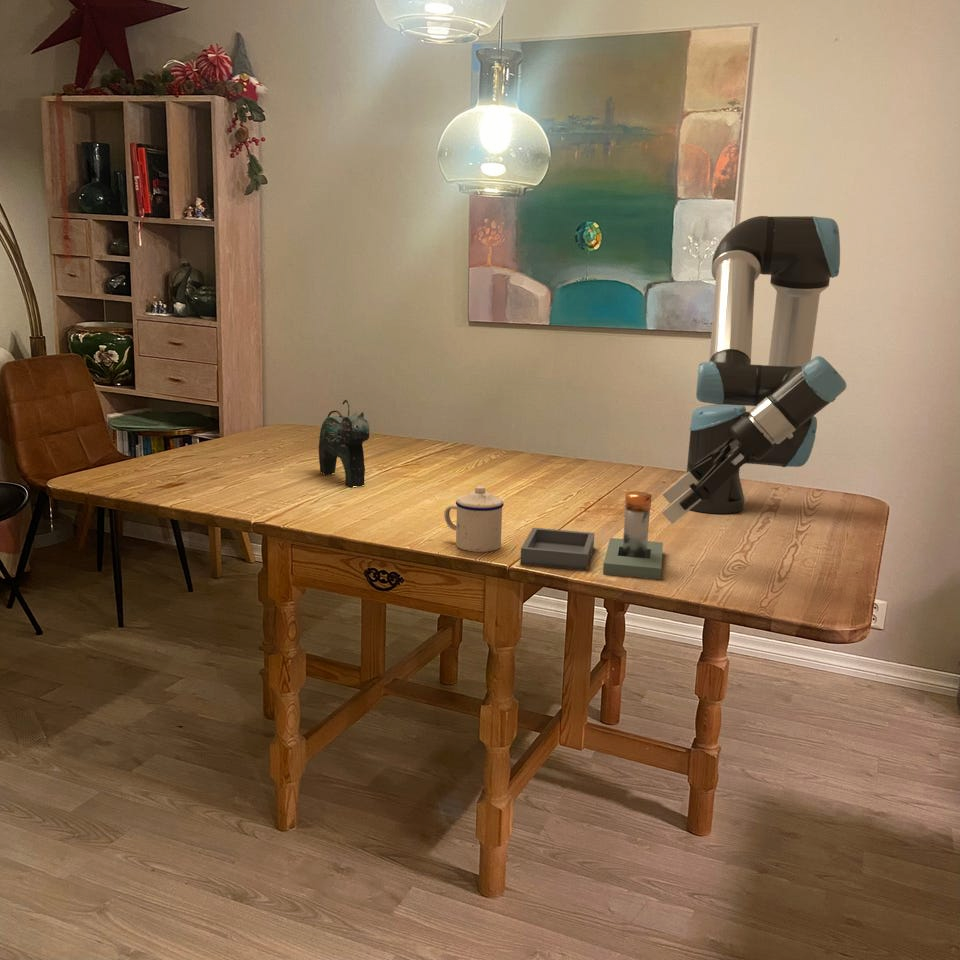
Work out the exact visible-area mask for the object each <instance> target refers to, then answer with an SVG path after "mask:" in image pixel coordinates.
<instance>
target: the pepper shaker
mask: <svg viewBox="0 0 960 960" xmlns="http://www.w3.org/2000/svg"><path fill="white" fill-rule="evenodd" d="M624 502H625V503H624V524H623V538H622V539H623V550H622V556H626V557H637V558H646V555H647V542H648V540H649V539H648V538H649V525H650V513H651V506H652V494H651V493H648V492H644V491H636V490H635V491H627V492H626V493H625V501H624Z"/></svg>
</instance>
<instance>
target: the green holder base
mask: <svg viewBox="0 0 960 960" xmlns="http://www.w3.org/2000/svg"><path fill="white" fill-rule="evenodd" d="M663 547H664V542H659V541H651V540H649V541H648V542H647V555H646V558H637V557H626V556H622V550H623V538H617V537H616V538H614V537H610V539H609V541H608V545H607V549H606V553H605V556H604V560H603V569H602V570H603V571H602V575H608V576H609V575H612V576H621V577H632V578H642V579H643V578H644V579H653V580H661V576H662V575H661V574H662V562H663Z"/></svg>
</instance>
